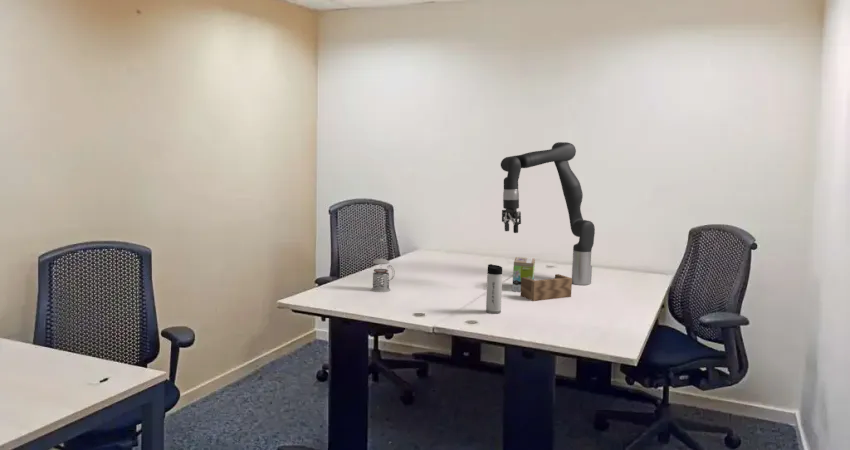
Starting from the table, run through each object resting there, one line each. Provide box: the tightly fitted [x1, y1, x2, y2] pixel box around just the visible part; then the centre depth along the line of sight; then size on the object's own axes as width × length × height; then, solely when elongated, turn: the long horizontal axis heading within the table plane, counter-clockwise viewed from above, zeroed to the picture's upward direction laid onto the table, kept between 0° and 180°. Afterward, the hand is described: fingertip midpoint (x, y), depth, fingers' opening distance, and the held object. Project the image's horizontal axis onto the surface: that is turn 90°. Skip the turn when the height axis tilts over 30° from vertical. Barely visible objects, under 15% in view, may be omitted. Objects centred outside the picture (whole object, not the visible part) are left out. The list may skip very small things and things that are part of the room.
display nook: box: [520, 273, 573, 302], centre depth 300 cm, size 22×10×9 cm, turn 118°
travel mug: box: [485, 263, 503, 315], centre depth 269 cm, size 6×7×20 cm
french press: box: [370, 238, 395, 293], centre depth 305 cm, size 10×12×25 cm
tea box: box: [511, 256, 536, 293], centre depth 316 cm, size 15×10×15 cm, turn 168°
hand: (511, 232), depth 309 cm, fingers open, 8 cm apart
